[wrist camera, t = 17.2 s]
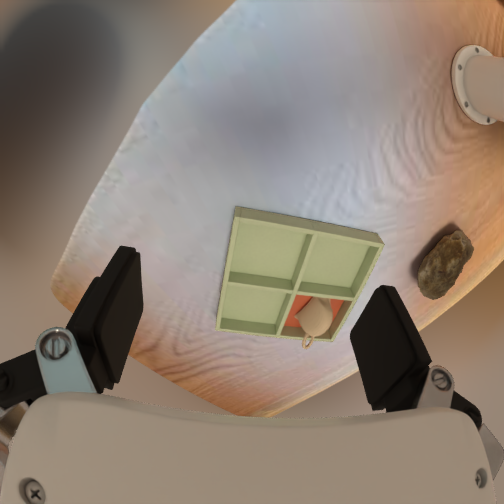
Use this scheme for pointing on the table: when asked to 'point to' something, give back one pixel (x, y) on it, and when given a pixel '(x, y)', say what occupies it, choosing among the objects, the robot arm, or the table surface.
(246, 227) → the grid
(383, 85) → the table surface
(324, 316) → the decorative ornament
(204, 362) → the table surface
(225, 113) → the table surface
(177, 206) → the table surface
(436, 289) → the stone
